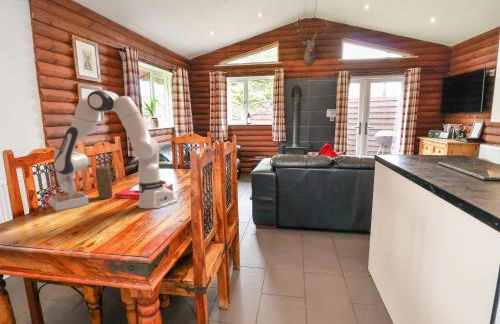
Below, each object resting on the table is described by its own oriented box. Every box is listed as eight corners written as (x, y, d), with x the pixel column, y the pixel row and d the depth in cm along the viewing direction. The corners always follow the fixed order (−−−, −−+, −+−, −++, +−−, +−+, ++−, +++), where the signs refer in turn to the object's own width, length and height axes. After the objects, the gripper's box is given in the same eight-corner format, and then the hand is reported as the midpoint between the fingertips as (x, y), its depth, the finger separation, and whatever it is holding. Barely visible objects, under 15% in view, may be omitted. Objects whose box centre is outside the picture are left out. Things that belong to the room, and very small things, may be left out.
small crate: (77, 198, 165) (76, 191, 164) (80, 200, 161) (79, 192, 160) (57, 202, 158) (56, 194, 157) (60, 205, 154) (59, 196, 153)
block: (113, 198, 173) (110, 167, 170) (100, 200, 168) (97, 168, 165) (110, 194, 181) (107, 165, 178) (97, 196, 177) (94, 166, 174)
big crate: (81, 199, 171) (80, 191, 170) (89, 204, 160) (88, 196, 159) (50, 205, 160) (49, 197, 159) (56, 211, 149) (55, 203, 148)
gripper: (77, 177, 152) (80, 200, 155) (67, 172, 166) (70, 194, 169) (63, 179, 148) (67, 203, 150) (55, 173, 162) (58, 196, 164)
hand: (69, 198), depth 159 cm, fingers closed on small crate, 6 cm apart
